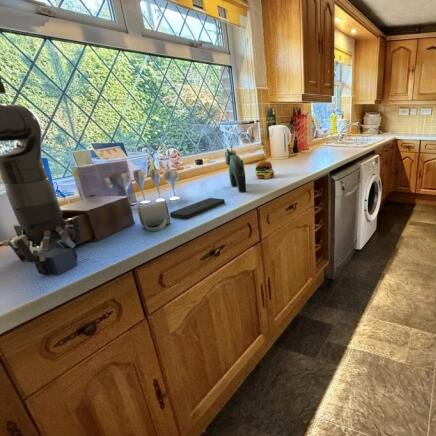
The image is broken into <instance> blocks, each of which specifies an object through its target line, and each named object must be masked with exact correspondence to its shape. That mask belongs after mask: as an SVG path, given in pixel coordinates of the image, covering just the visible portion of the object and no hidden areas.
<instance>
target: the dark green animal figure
mask: <svg viewBox="0 0 436 436" xmlns="http://www.w3.org/2000/svg"><path fill="white" fill-rule="evenodd" d="M224 157H225V164H226V165H227V166H228V175H229V181H230V182H229V183H230V186H231V187H237V190H238V192H239V193H245V192H247V183H246V179H247V178H246V171H245V165H244V161H243V159H241V157H240V156H239V155H238V154H237V152H236V151H235V150H233V145H232V144H230V150H229V149H228V148H226V151H225V152H224Z"/></svg>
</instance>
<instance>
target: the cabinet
mask: <svg viewBox="0 0 436 436" xmlns="http://www.w3.org/2000/svg"><path fill="white" fill-rule="evenodd" d="M60 208H61V211H62V212H63V213H86V215H87V218H88V221H89V224H90V227H91V230H92V233H93V236H94V237H93V238H91V239H88V240H86V241H85V242H96V243H97V242H100V241H102V240H104V239H106V238H108V237H110V236H112V235H115V234H117V233H119V232H121V231H123V230H125V229H127V228H129V227H131V226H134V225H136V222H135V217H134V215H133V211H132V207H131V205H130V203H129V199H128V196H93V197H90V198H86V199H83V200H81V199H80V200H77V201H74V202H71V203H67V204H64V205H61V206H60Z"/></svg>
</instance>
